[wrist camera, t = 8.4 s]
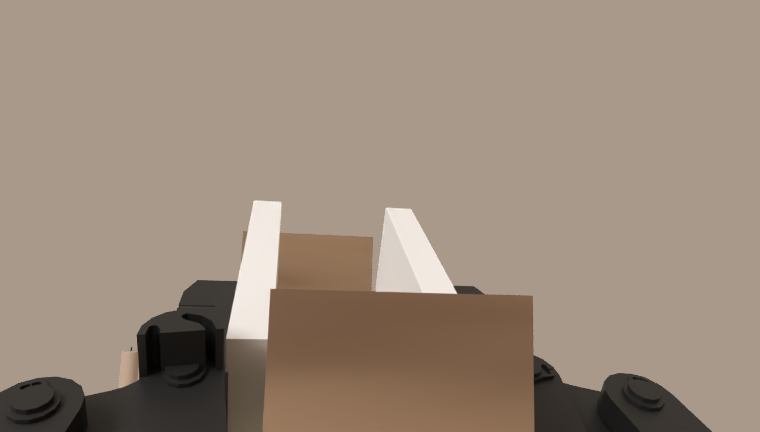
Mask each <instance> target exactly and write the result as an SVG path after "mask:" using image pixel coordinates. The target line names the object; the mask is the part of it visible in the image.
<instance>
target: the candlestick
mask: <svg viewBox="0 0 760 432" xmlns="http://www.w3.org/2000/svg"><path fill="white" fill-rule="evenodd" d="M138 366H139V362H138V351H135V350H132V347H131V350H130V351H122V356H121V366H120V377H119V388H122V387H125V386H127V385H129V384H132V383H134V382H136V381H137V377H138Z"/></svg>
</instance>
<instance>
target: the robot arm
mask: <svg viewBox="0 0 760 432" xmlns="http://www.w3.org/2000/svg"><path fill="white" fill-rule="evenodd" d="M280 224H281V202H273V201H272V202H271V201H254V203H253V208H252V214H251V218H250V223H249V228H248V233H247V238H246V243H245V247H244V252H243V257H242V262H241V268H240V272H239V277H238V281H208V280H206V281H205V280H197V281H196V282H195V283H194V284H192V286H190V287H189V288H188V289H186V290H185V291H184V292H183V295H182V298H181V300H180V303H179V308H177V311H172V312H166V313H163V314H161V315H158V316H156V317H153V318H151V319H150V320H149V321H147V322H146V323H145V324H143V325H142V326H141V328H140V330H139V332H138V333H137V345H138V362H139V380H138V381H136V382H134V383H132V384H129V385H127V386H125V387H122V388H118V389H116V390H112V391H108V392H103V393H98V394H94V395H89V396H84V392H83V390H82V386H80V385H79V384H77V383H75V382H74V381H73V380H71V379H65V378H60V377H46V378H36V379H33V380H29V381H25V382H21V383H18V384H16V385H14V386H12V387H10V388H8V389H6V390H4V391H2V392H0V432H262V431H263V413H264V395H265V377H266V359H267V341H268V323H269V306H270V289H277V285H278V265H279V244H280ZM376 292H411V293H447V294H483V293H482V292H481V291H479V290H478V289H477V288H475V287H473V286H453V285H452V283H451V281H450V280H449V278H448V276H447V274H446V272H445V270H444V269H443V267H442V265H441V263H440V261H439V260H438V258H437V256H436V254H435V252H434V250H433V249H432V247H431V245H430V243H429V241H428V239H427V238H426V236H425V234H424V232H423V230H422V228H421V226H420V225H419V223H418V221H417V219H416V217H415V215H414V214H413V212H412V210H411V209H401V208H386V211H385V218H384V226H383V234H382V242H381V250H380V258H379V266H378V274H377V282H376ZM484 295H485V294H484ZM533 364H534V432H712V431H711V430H710V429H708V428H707V427H706V426H705V425H704V424H703V423H702V422H701V421H700V420H699V419H698V418H697V417H696V416H695V415H694V414H693V413H691V412H690V411H689V410H688V409H687V408H686V407H685V406H684V405H683V404H682V403H681V402H680V401H679V400H678V399H677V398H676V397H674V396H673V395H672V394H671V393H670V392H668V391H667V390H666V389H664V388H663V387H662V386H660V385H659V384H657V383H654V382H653V381H651V380H649V379H647V378H645V377H642V376H638V375H633V374H624V373H618V374H614V375H610V376H609V377H608V378H607V379H606V380H605V381H604V384H603V387H602V390H601V392H599V391H595V390H590V389H585V388H581V387H577V386H572V385H569V384H565V383H563V382H562V380H561V378H560V376H559V374H558V373H557V372H556V370H555V369H554V368H553V367H552V366H551V365H550V364H548V363H547V362H546V361H544V360H543V359H541V358H539V357H536V356H534V355H533Z"/></svg>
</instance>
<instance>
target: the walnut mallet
mask: <svg viewBox="0 0 760 432" xmlns="http://www.w3.org/2000/svg"><path fill="white" fill-rule="evenodd" d="M247 233H248V232H246V231H243V243H242V257H243V252H244V247H245V243H246V238H247ZM372 250H373V237H356V236H355V237H354V236H333V235H312V234H290V233H280V244H279V265H278V285H277V289H270V306H269V323H268V341H267V359H266V377H265V395H264V413H263V431H262V432H534V364H533V296H520V295H517V296H516V295H484V294H447V293H411V292H374V291H371V282H372ZM241 262H242V258H241Z"/></svg>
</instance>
